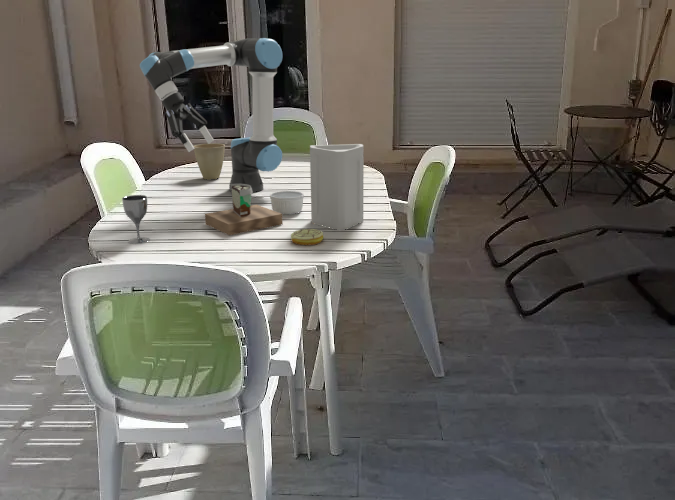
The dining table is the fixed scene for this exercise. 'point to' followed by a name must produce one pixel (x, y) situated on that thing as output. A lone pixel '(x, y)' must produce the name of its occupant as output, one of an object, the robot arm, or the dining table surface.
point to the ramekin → (287, 202)
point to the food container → (241, 199)
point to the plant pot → (210, 159)
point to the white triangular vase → (337, 185)
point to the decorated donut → (307, 236)
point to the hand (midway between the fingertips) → (201, 146)
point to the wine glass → (136, 213)
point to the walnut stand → (243, 220)
